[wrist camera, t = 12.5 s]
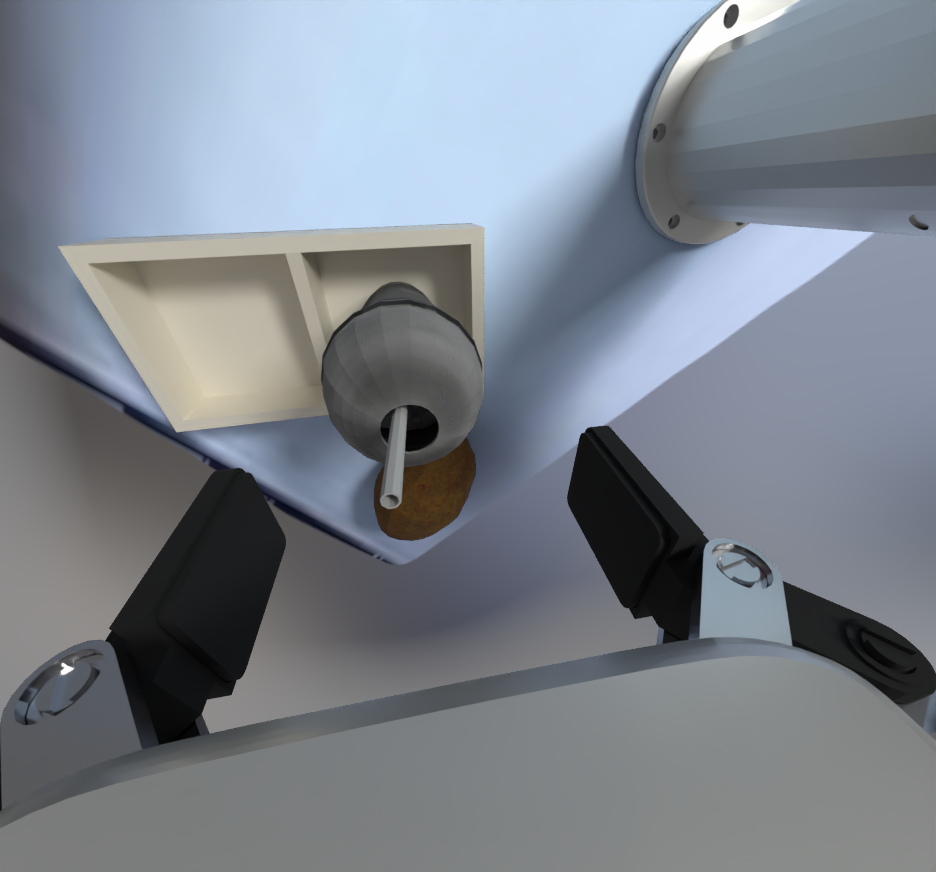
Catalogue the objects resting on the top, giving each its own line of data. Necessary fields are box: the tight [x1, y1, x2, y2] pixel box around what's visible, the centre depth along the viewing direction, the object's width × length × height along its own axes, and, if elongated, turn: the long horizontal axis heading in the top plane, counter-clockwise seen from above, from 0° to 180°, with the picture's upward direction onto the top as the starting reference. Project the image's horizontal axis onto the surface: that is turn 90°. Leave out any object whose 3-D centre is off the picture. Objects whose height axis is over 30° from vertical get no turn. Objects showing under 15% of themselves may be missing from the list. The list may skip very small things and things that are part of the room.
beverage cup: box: [321, 282, 483, 509], centre depth 17 cm, size 7×7×20 cm
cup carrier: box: [58, 223, 484, 432], centre depth 23 cm, size 22×11×4 cm, turn 91°
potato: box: [374, 438, 476, 541], centre depth 31 cm, size 8×12×8 cm, turn 149°
